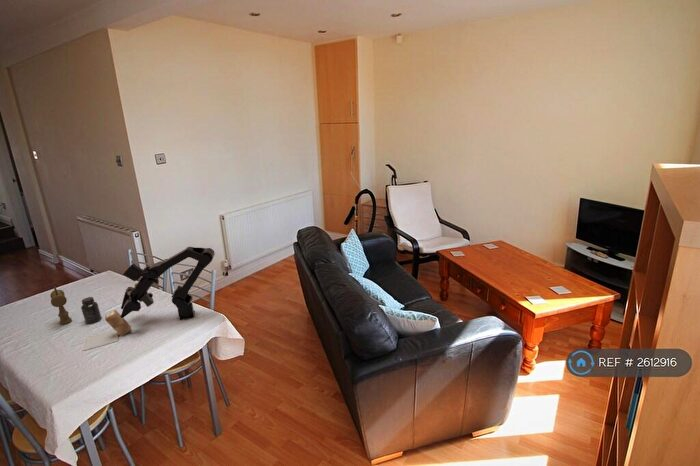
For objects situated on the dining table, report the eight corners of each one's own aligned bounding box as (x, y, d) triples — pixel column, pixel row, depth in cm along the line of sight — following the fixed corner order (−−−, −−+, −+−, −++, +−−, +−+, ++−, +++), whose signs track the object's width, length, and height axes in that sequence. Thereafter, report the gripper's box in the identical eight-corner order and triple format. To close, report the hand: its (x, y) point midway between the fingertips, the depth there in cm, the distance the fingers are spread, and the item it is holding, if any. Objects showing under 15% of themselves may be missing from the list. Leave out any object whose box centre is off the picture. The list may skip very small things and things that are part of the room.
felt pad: (118, 328, 175) (118, 328, 175) (118, 341, 165) (117, 340, 165) (85, 337, 169) (85, 336, 169) (83, 351, 159) (83, 350, 159)
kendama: (59, 328, 177) (47, 291, 170) (57, 320, 184) (45, 284, 177) (74, 323, 181) (62, 287, 174) (72, 316, 187) (61, 281, 181)
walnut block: (130, 325, 174) (114, 309, 169) (130, 330, 170) (114, 313, 165) (121, 331, 173) (105, 315, 167) (121, 336, 169) (104, 319, 164)
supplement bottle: (105, 316, 186) (99, 295, 182) (94, 324, 179) (88, 302, 176) (92, 316, 187) (86, 295, 183) (82, 324, 180) (75, 302, 176)
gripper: (159, 301, 172) (138, 329, 170) (157, 286, 187) (137, 311, 185) (137, 291, 165) (114, 319, 164) (136, 276, 181) (115, 302, 179)
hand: (121, 313), depth 173 cm, fingers open, 9 cm apart
